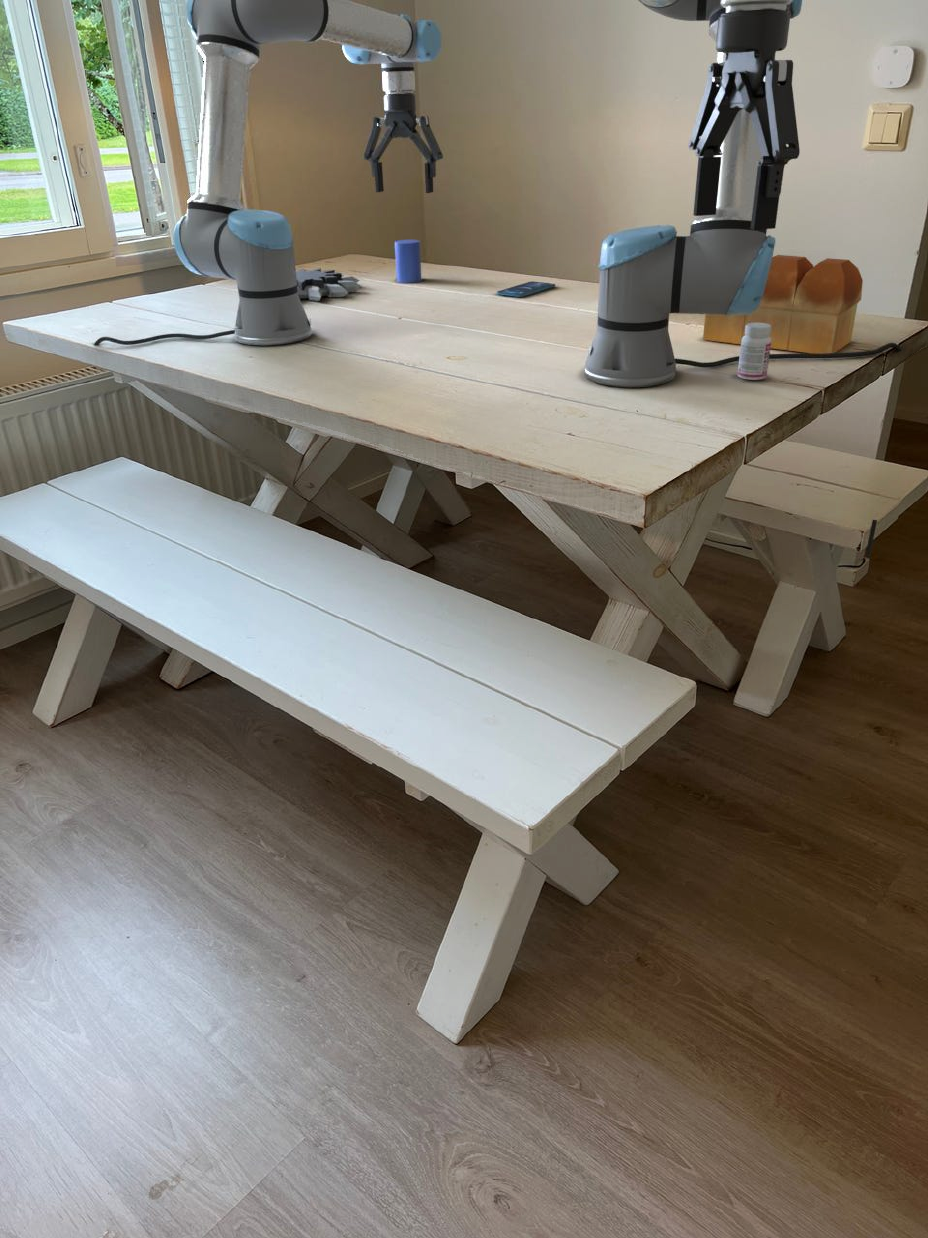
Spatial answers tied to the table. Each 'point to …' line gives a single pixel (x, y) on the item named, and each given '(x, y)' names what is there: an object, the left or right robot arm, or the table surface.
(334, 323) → the table surface
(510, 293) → the smartphone
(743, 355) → the pill bottle
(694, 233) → the right robot arm
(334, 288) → the decorative piece
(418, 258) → the canister
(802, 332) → the bread
